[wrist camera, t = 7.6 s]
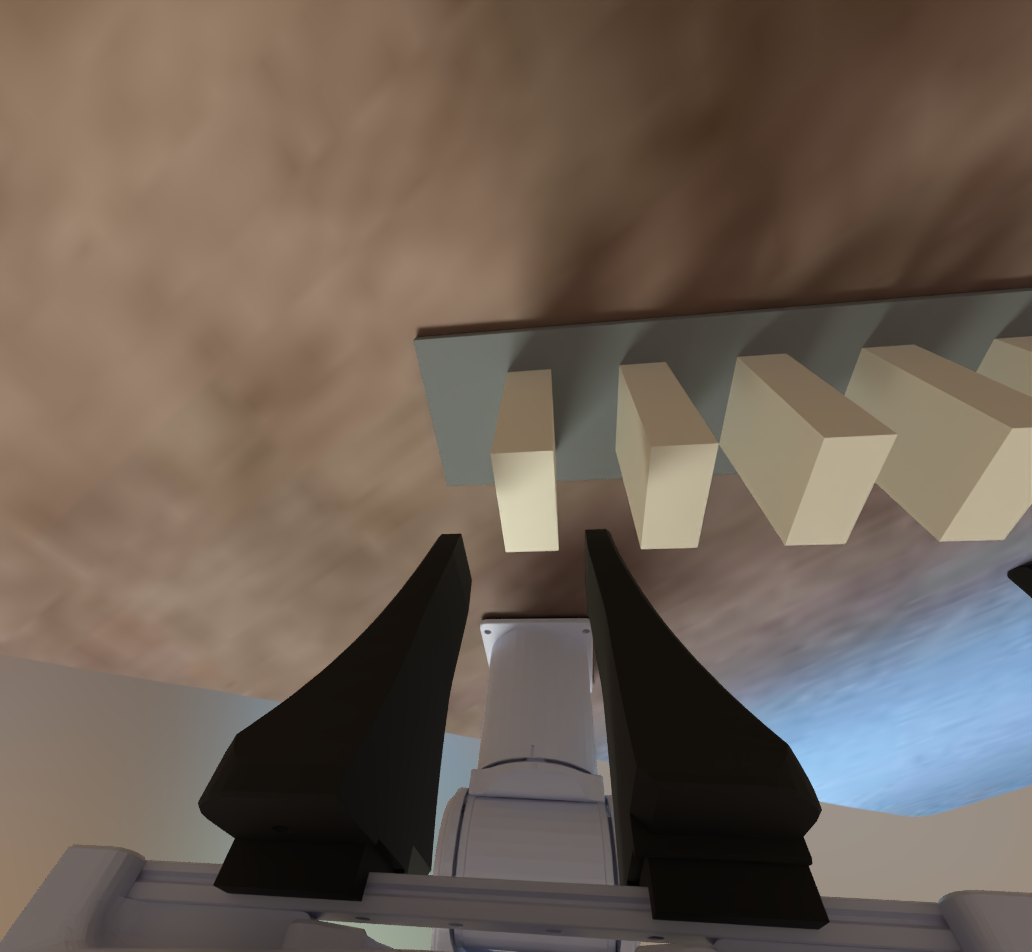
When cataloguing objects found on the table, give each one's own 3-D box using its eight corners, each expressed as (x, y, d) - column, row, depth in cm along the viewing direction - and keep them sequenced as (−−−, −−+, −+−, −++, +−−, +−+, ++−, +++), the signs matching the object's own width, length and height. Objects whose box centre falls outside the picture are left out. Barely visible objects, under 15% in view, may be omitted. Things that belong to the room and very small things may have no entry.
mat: (1053, 454, 20) (1062, 459, 20) (448, 481, 24) (447, 486, 23) (1186, 274, 16) (1201, 277, 16) (415, 337, 19) (413, 340, 19)
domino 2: (656, 447, 21) (697, 547, 15) (615, 449, 21) (640, 549, 16) (665, 361, 19) (718, 443, 13) (619, 365, 19) (651, 446, 13)
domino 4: (873, 436, 20) (1004, 539, 14) (827, 439, 20) (939, 541, 14) (914, 344, 18) (1092, 424, 12) (862, 348, 18) (1012, 428, 12)
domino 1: (555, 452, 22) (558, 550, 16) (516, 454, 22) (505, 552, 16) (551, 369, 19) (553, 450, 13) (507, 372, 19) (490, 453, 14)
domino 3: (762, 442, 21) (845, 543, 15) (719, 444, 21) (784, 545, 15) (786, 353, 18) (897, 434, 12) (737, 356, 18) (824, 437, 13)
